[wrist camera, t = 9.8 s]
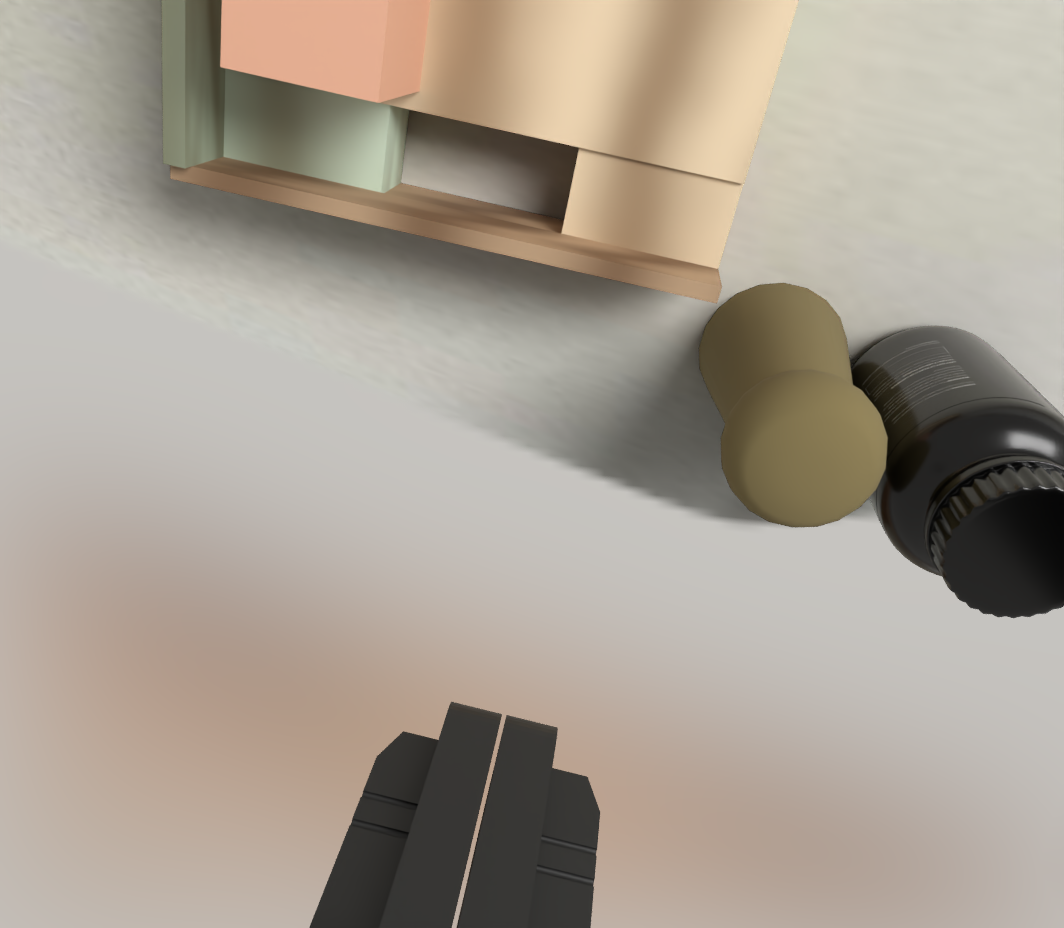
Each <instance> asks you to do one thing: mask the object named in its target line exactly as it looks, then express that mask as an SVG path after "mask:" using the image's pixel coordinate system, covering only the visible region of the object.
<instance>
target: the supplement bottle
mask: <svg viewBox="0 0 1064 928" xmlns="http://www.w3.org/2000/svg"><path fill="white" fill-rule="evenodd" d="M851 374H852V381H853V385H854V386H856V387H857V388H859V389H860V390H862V391H863V392H864V394H865V395H866V396H867V397H868V399H869V400H870V401H871V402H872V404H873V405H874V406H875V407H876V409H877V410H878V412H879V414H880V415H881V418H882V421H883V425H884V428H885V431H886V434H887V437H888V441H887V456H886V469H885V471H884V473H883V475H882V478H881V480H880V482H879V484H878V487H877V489H876V490H875V491H874V492H873V493H872V494H871V496H870V497H869V498H870V501H871V503H872V505H873V507H874V510H875V512H876V514H877V516H878V518H879V521H880V523H881V525H882V527H883V529H884V531H885V533H886V534H887V536H888V538H889V539H890V541H891V542H892V544H893V545H894V546H895V547H896V549H897V550H898V551H899V552H900V553H901V554H902V555H903V556H904V557H906V558H907V559H908V560H910V561H911V562H912V563H914V564H915V565H917V566H919V567H920V568H923V569H924V570H926V571H929V572H931V573H934V574H936V575H939V576H942V577H943V579H944V581H945V582H946V584H947V586H948V588H949V589H950V590H951V591H952V592H954V593H955V595H956V596H957V598H958V599H959V600H961V601H963V602H966V603H967V605H968V606H969V607H970V608H973V609H979V610H980V611H981V612H982V613H983V614H993V615H994V616H997V617H1003V616H1008V617H1011V618H1016V617H1020V616H1025V617H1031V616H1033V615H1035V614H1044V613H1047V612H1049V611H1051V610H1052V609H1057V608H1061V607H1063V606H1064V416H1063V415H1062V414H1061V413H1060V412H1059V411H1058V410H1057V409H1056V408H1055V407H1054V406H1053V405H1052V404H1051V403H1050V402H1049V401H1048V400H1047V399H1046V398H1044V397H1043V396H1042V395H1041V394H1040V393H1039V392H1038V391H1037V390H1036V389H1035V388H1034V387H1033V386H1032V385H1031V384H1030V383H1029V382H1028V381H1027V380H1026V379H1025V378H1024V377H1023V376H1022V375H1021V374H1020V373H1019V372H1018V371H1017V370H1016V369H1015V368H1014V367H1013V366H1012V365H1011V364H1010V363H1009V362H1008V361H1007V360H1006V359H1005V358H1004V357H1003V356H1002V355H1001V354H999V353H998V352H997V351H996V350H995V349H994V348H993V347H991V346H990V345H989V344H988V343H987V342H985V341H984V340H982V339H981V338H979V337H977V336H976V335H974V334H972V333H969V332H967V331H964V330H961V329H957V328H953V327H946V326H923V327H916V328H911V329H908V330H904V331H901V332H898V333H896V334H893V335H891V336H889V337H887V338H885V339H884V340H882V341H880V342H879V343H877V344H876V345H874V346H873V347H871V348H870V349H869V350H868V351H866V352H865V353H864V354H863V355H862V356H861V357H860V358H859V359H858V361H857V362H856V363H855V364H854V366H853V367H852V368H851Z"/></svg>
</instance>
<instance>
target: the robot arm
mask: <svg viewBox="0 0 1064 928" xmlns="http://www.w3.org/2000/svg"><path fill="white" fill-rule="evenodd" d="M501 716H502V714H499V713H495V712H490V711H487V710H483V709H478V708H474V707H470V706H466V705H462V704H458V703H454V702H451V704H450V706H449V709H448V712H447V715H446V718H445V721H444V725H443V728H442V731H441V734H440V737H439V740H436V739H432V738H428V737H424V736H420V735H416V734H412V733H407V732H402V733H401V734H400V735H399V736H398V737H397V738H396V739H395V740H394V741H393V742H392V743H391V744H390V745H389V746H388V747H387V748H385V750H384V751H382V752H381V754H379V755H378V756H377V758H376V760H375V763H374V765H373V768H372V770H371V773H370V775H369V778H368V781H367V783H366V786H365V788H364V791H363V795H362V797H361V798H360V801H359V803H358V806H357V808H356V811H355V813H354V816H353V819H352V823H351V825H350V826H349V829H348V831H347V834H346V836H345V839H344V841H343V844H342V846H341V849H340V851H339V854H338V856H337V859H336V862H335V864H334V867H333V869H332V872H331V874H330V877H329V880H328V882H327V884H326V887H325V889H324V893H323V895H322V897H321V900H320V902H319V905H318V907H317V910H316V912H315V915H314V918H313V920H312V923H311V925H310V928H452V923H453V919H454V915H455V911H456V906H457V902H458V898H459V894H460V890H461V885H462V881H463V877H464V873H465V869H466V864H467V860H468V856H469V852H470V848H471V843H472V839H473V835H474V831H475V826H476V822H477V818H478V814H479V810H480V805H481V801H482V797H483V793H484V788H485V784H486V780H487V775H488V771H489V767H490V763H491V758H492V754H493V750H494V746H495V741H496V737H497V733H498V729H499V725H500V720H501ZM557 730H558V729H557V727H553V726H548V725H544V724H540V723H536V722H532V721H528V720H524V719H520V718H516V717H512V716H508V715H507V716H506V720H505V724H504V728H503V733H502V737H501V741H500V745H499V749H498V753H497V757H496V762H495V766H494V770H493V774H492V779H491V783H490V787H489V791H488V795H487V799H486V804H485V808H484V812H483V816H482V821H481V825H480V829H479V833H478V838H477V842H476V846H475V851H474V855H473V859H472V864H471V868H470V872H469V877H468V881H467V886H466V890H465V894H464V898H463V903H462V907H461V911H460V915H459V920H458V925H457V928H590V926H591V913H592V901H593V890H594V887H593V883H594V878H595V867H596V866H595V865H596V850H597V842H598V831H599V819H600V811H599V808H598V805H597V802H596V799H595V797H594V794H593V791H592V788H591V785H590V783H589V780H588V777H586V776H582V775H578V774H574V773H570V772H566V771H562V770H558V769H554V768H552V764H553V758H554V751H555V745H556V739H557Z"/></svg>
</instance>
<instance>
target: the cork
mask: <svg viewBox="0 0 1064 928" xmlns="http://www.w3.org/2000/svg"><path fill="white" fill-rule="evenodd" d="M699 366H700V371H701V374H702V376H703V379H704V381H705V384H706V386H707V389H708V391H709V393H710V395H711V397H712V399H713V401H714V402H715V404H716V406H717V408H718V410H719V412H720V414H721V416H722V418H723V420H724V422H725V427H724V430H723V433H722V436H721V462H722V469H723V471H724V474H725V476H726V479H727V481H728V484H729V486H730V488H731V490H732V491H733V492H734V494H735V495H736V496H737V497H738V498H739V499H740V501H741V502H742V503H743V504H744V505H745V506H746V507H747V508H748V509H749V510H750V511H751V512H753V513H755V514H756V515H758V516H760V517H762V518H763V519H765V520H767V521H769V522H772V523H776V524H781V525H785V526H789V527H818V526H821V525H824V524H828V523H831V522H834V521H838V520H840V519H841V518H843V517H845V516H846V515H848V514H850V513H851V512H853V511H854V510H856V509H858V508H859V507H861V506H862V504H863V503H864V502H865V501H866V500H867V499H868V498H869V497H870V496H871V494H872V493H873V492H874V491H875V490H876V489H877V487H878V484H879V482H880V480H881V478H882V475H883V473H884V471H885V469H886V456H887V441H888V437H887V434H886V431H885V428H884V425H883V421H882V418H881V415H880V414H879V412H878V410H877V409H876V407H875V406H874V405H873V404H872V402H871V401H870V400H869V399H868V397H867V396H866V395H865V394H864V392H863V391H862V390H860V389H859V388H857V387H856V386H854V385H853V381H852V374H851V367H850V360H849V352H848V345H847V338H846V335H845V332H844V329H843V326H842V322H841V319H840V317H839V316H838V314H837V313H836V312H835V311H834V309H833V308H832V307H831V306H830V304H829V303H828V302H827V301H826V300H825V299H823V298H822V297H820V296H819V295H817V294H815V293H814V292H812V291H811V290H809V289H807V288H804V287H799V286H795V285H791V284H786V283H776V284H764V285H758V286H755V287H753V288H750V289H748V290H745V291H742V292H740V293H737V294H736V295H735V296H733V297H732V298H731V299H730V300H728V301H727V302H726V303H724V304H723V305H722V306H721V307H719V308H718V309H717V311H716V312H715V314H714V315H713V317H712V318H711V319H710V321H709V322H708V324H707V325H706V327H705V329H704V333H703V336H702V339H701V342H700V346H699Z"/></svg>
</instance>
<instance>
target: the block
mask: <svg viewBox="0 0 1064 928" xmlns="http://www.w3.org/2000/svg"><path fill="white" fill-rule="evenodd" d="M430 1H431V0H222V14H221V60H220V67H222V68H226V69H231V70H235V71H240V72H244V73H248V74H253V75H257V76H262V77H266V78H270V79H275V80H279V81H284V82H288V83H292V84H297V85H301V86H306V87H310V88H314V89H319V90H323V91H328V92H332V93H336V94H341V95H345V96H350V97H354V98H358V99H363V100H367V101H372V102H376V103H380V102H383V101H387V100H391V99H394V98H398V97H401V96H405V95H408V94H412V93H415V92H419V91H420V83H421V74H422V66H423V58H424V50H425V42H426V34H427V26H428V17H429V9H430Z"/></svg>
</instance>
